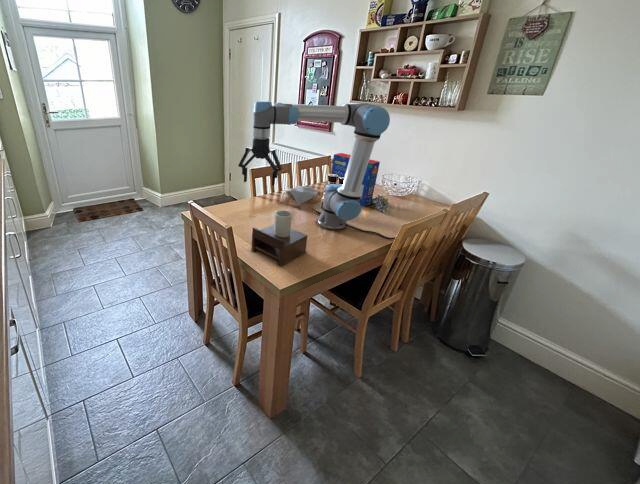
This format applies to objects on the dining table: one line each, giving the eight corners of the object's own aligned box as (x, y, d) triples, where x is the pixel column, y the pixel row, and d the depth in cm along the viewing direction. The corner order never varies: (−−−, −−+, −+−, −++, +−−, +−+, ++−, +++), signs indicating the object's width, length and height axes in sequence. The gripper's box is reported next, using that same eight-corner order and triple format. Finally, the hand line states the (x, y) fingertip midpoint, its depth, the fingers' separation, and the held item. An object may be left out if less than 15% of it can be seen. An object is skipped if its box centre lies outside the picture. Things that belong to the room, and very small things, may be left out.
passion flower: (380, 220, 202) (380, 209, 193) (366, 211, 209) (365, 200, 199) (392, 208, 204) (393, 196, 194) (377, 199, 210) (377, 188, 201)
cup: (291, 231, 153) (293, 211, 149) (288, 238, 147) (290, 217, 143) (275, 228, 155) (276, 209, 151) (272, 235, 149) (273, 215, 144)
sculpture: (299, 192, 229) (300, 179, 225) (323, 199, 217) (324, 185, 213) (276, 201, 212) (277, 187, 208) (301, 209, 200) (302, 194, 196)
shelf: (276, 238, 165) (277, 217, 160) (305, 252, 154) (308, 229, 149) (251, 250, 154) (252, 227, 149) (281, 266, 142) (283, 241, 137)
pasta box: (371, 204, 212) (379, 161, 200) (364, 206, 207) (372, 163, 195) (335, 192, 231) (341, 152, 220) (328, 194, 227) (333, 154, 215)
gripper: (290, 138, 146) (286, 183, 155) (237, 134, 153) (236, 178, 161) (287, 141, 140) (283, 188, 149) (232, 137, 146) (231, 182, 155)
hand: (259, 183), depth 155 cm, fingers open, 13 cm apart
